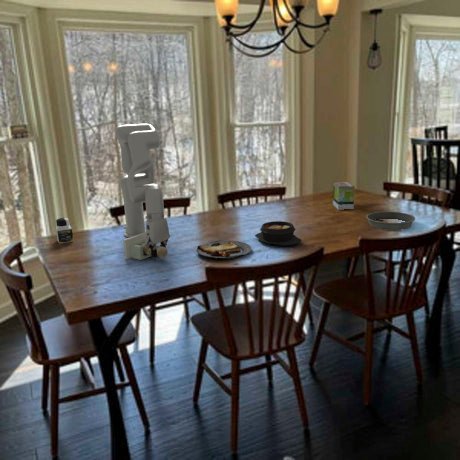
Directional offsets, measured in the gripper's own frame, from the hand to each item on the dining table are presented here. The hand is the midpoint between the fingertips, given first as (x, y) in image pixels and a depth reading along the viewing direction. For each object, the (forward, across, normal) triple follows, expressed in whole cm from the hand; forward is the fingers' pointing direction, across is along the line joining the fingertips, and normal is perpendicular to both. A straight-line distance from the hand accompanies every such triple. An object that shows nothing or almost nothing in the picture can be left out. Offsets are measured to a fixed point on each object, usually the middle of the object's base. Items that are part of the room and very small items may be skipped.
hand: (159, 255), depth 199 cm
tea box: (+2, +129, -30) cm, 132 cm away
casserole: (+2, +49, -31) cm, 58 cm away
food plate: (+3, +23, -18) cm, 30 cm away
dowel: (+1, 0, +4) cm, 4 cm away
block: (+2, 0, +10) cm, 10 cm away
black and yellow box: (+2, -5, +64) cm, 64 cm away
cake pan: (+3, +104, -67) cm, 124 cm away
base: (+2, 0, +14) cm, 14 cm away
